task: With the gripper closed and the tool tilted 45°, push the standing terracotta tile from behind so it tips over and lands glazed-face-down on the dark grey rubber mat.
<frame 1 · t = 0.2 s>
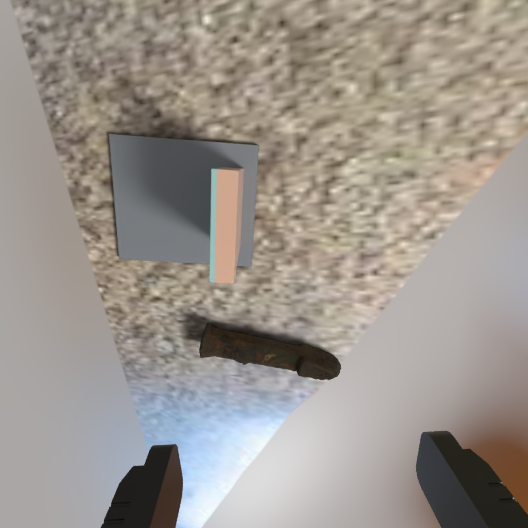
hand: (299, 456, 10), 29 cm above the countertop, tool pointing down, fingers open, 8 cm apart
mat: (186, 204, 36), on the countertop
tile: (233, 208, 35), point 1 cm above the countertop, touching mat
hand tool: (272, 340, 42), on the countertop
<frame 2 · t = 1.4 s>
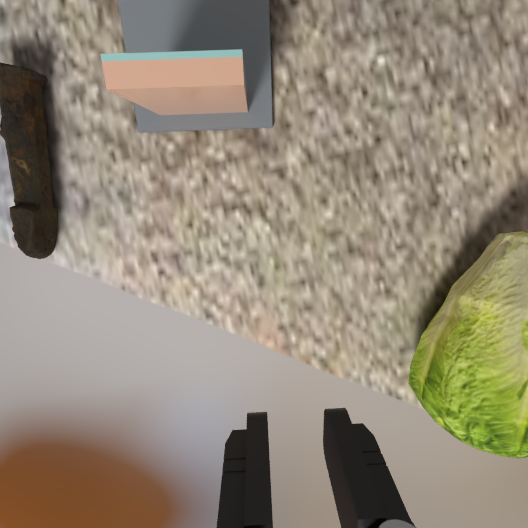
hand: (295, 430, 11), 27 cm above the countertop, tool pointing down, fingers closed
lettuce: (463, 312, 41), on the countertop
mat: (198, 41, 30), on the countertop
tile: (203, 102, 31), point 1 cm above the countertop, touching mat
hand tool: (50, 171, 34), on the countertop
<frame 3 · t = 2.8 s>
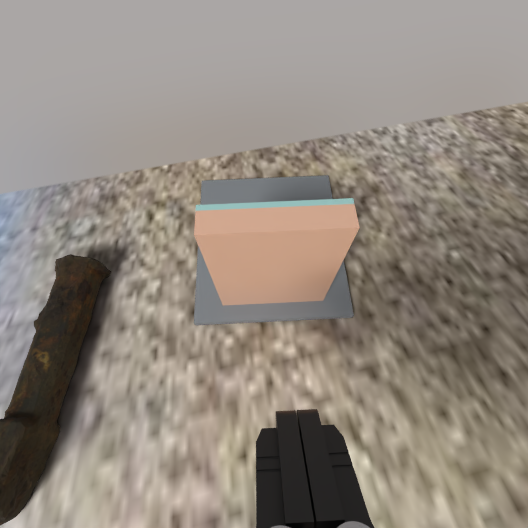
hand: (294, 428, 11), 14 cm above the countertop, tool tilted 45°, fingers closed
mat: (269, 243, 31), on the countertop
tile: (272, 292, 28), point 1 cm above the countertop, touching mat
hand tool: (72, 373, 26), on the countertop
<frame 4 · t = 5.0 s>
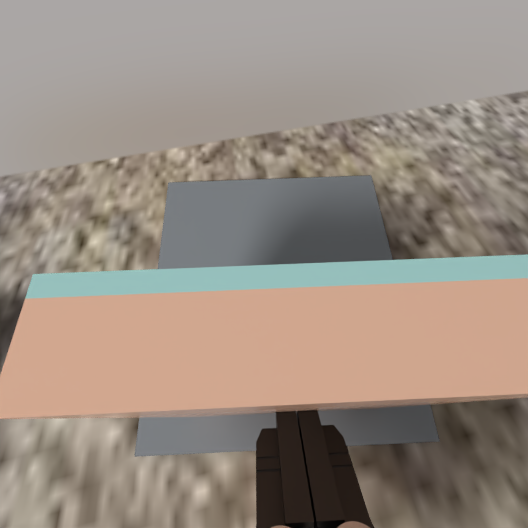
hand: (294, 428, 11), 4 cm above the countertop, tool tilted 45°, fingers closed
mat: (277, 290, 18), on the countertop
tile: (284, 390, 15), point 1 cm above the countertop, touching gripper, mat
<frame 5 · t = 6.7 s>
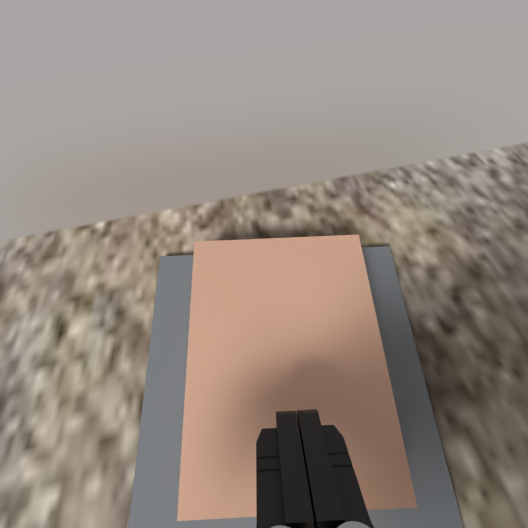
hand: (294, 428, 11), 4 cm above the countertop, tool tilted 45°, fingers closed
mat: (285, 394, 16), on the countertop
tile: (295, 506, 12), point 2 cm above the countertop, tilted 90°, touching mat
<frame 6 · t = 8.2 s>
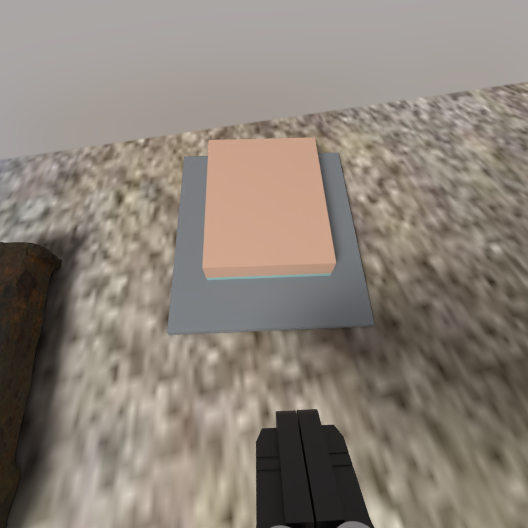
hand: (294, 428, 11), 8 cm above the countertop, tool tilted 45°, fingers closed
mat: (266, 232, 25), on the countertop
tile: (269, 272, 21), point 2 cm above the countertop, tilted 90°, touching mat
hand tool: (28, 395, 20), on the countertop
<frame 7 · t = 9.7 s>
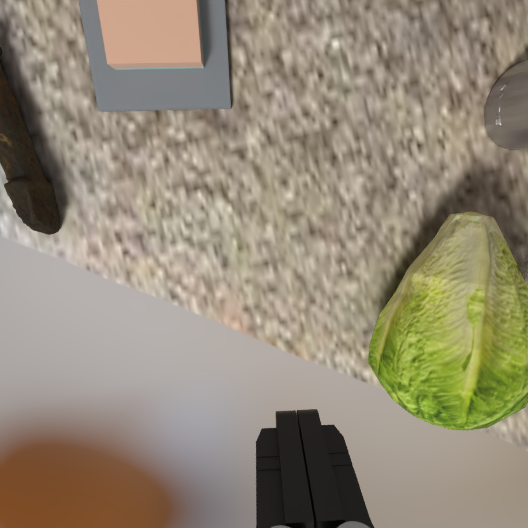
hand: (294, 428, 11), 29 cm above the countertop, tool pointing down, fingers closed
lettuce: (424, 294, 42), on the countertop
mat: (156, 21, 31), on the countertop
tile: (157, 66, 30), point 2 cm above the countertop, tilted 90°, touching mat
hand tool: (33, 146, 34), on the countertop
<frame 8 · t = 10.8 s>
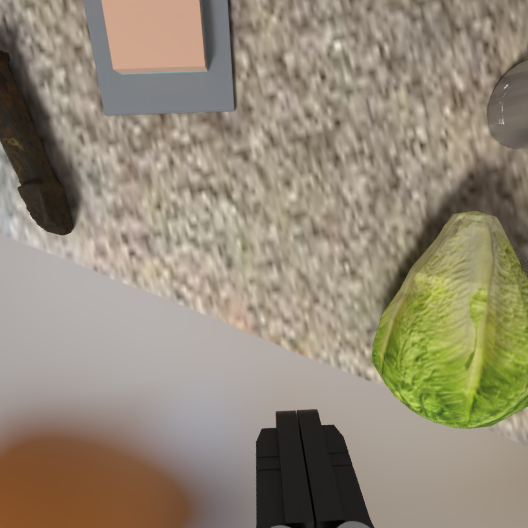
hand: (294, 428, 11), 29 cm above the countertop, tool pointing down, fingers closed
lettuce: (428, 293, 42), on the countertop
mat: (160, 26, 31), on the countertop
tile: (162, 70, 31), point 2 cm above the countertop, tilted 90°, touching mat
hand tool: (43, 150, 35), on the countertop
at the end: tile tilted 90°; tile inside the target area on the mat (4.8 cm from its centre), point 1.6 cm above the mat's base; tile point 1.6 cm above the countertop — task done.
